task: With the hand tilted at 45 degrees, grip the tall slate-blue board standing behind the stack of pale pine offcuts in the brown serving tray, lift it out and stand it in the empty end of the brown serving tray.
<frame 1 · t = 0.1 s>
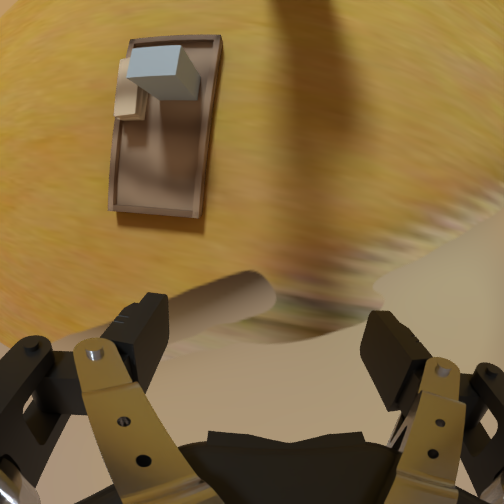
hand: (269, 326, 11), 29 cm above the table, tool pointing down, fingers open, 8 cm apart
brown serving tray: (164, 121, 36), on the table
offcut stack: (138, 89, 33), resting on brown serving tray
tall board: (179, 88, 33), point 1 cm above the table, touching brown serving tray
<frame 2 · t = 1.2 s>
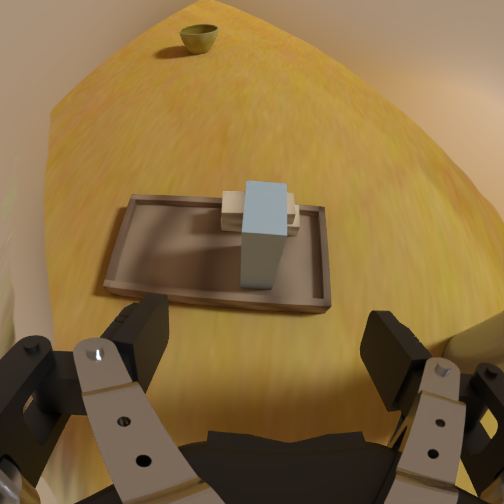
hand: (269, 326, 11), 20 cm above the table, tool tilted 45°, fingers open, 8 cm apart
brown serving tray: (219, 254, 35), on the table
offcut stack: (259, 222, 36), resting on brown serving tray
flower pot: (199, 51, 64), on the table
tall board: (257, 266, 33), point 1 cm above the table, touching brown serving tray
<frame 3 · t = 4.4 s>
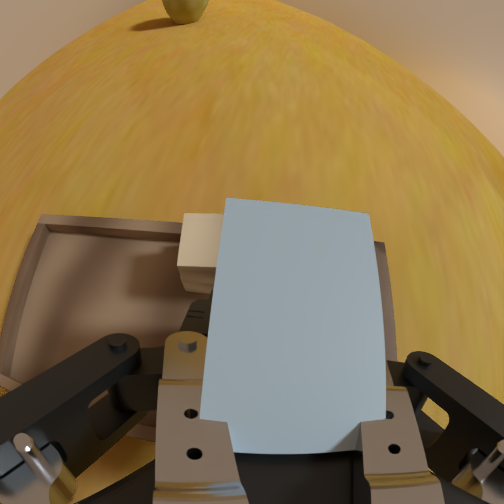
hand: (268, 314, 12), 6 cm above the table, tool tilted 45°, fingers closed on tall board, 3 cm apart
brown serving tray: (183, 335, 17), on the table
offcut stack: (263, 273, 18), resting on brown serving tray
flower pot: (186, 22, 47), on the table
tall board: (257, 372, 15), point 2 cm above the table, touching gripper, brown serving tray
when the fingers open (7 cm above the table, at t = 9.4 s): tall board stays where it is, resting on brown serving tray.
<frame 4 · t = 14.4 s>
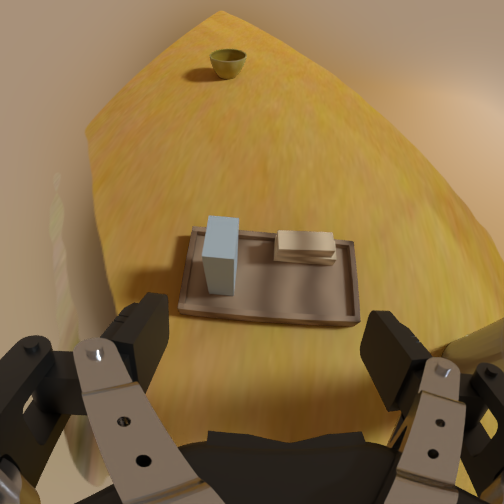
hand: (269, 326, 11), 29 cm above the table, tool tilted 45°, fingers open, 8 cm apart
brown serving tray: (271, 279, 43), on the table
offcut stack: (303, 253, 44), resting on brown serving tray
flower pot: (227, 76, 73), on the table
tall board: (223, 277, 41), point 1 cm above the table, touching brown serving tray
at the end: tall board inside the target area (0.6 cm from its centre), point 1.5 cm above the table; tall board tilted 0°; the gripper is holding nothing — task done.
